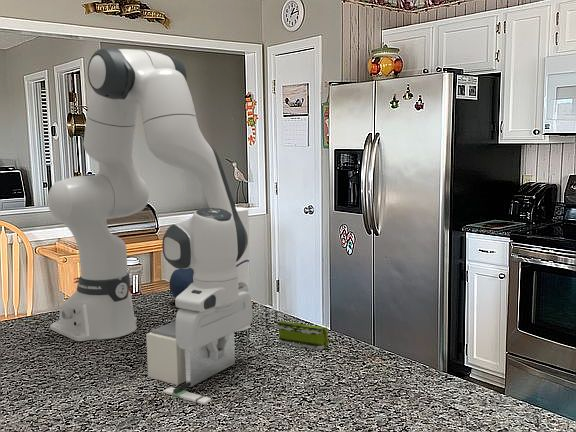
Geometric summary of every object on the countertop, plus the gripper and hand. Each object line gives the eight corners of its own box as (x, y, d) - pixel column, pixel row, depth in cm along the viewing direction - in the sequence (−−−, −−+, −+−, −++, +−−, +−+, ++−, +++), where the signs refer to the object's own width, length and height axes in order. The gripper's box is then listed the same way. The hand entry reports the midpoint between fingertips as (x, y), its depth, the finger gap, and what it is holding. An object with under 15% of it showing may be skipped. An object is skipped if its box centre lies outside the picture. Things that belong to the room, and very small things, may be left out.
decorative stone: (163, 309, 172) (162, 274, 171) (178, 297, 184) (177, 265, 182) (204, 310, 170) (203, 275, 169) (216, 299, 182) (215, 266, 181)
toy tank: (318, 332, 135) (336, 311, 143) (245, 321, 144) (267, 302, 152) (321, 360, 137) (339, 338, 145) (250, 347, 146) (270, 327, 154)
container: (257, 324, 158) (255, 208, 154) (236, 333, 151) (234, 212, 146) (230, 319, 162) (227, 206, 158) (209, 328, 155) (206, 210, 151)
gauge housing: (133, 383, 121) (131, 336, 120) (193, 355, 136) (192, 313, 135) (204, 404, 112) (202, 353, 110) (260, 371, 127) (259, 326, 125)
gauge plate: (133, 382, 121) (131, 343, 120) (194, 353, 136) (193, 318, 135) (175, 394, 115) (174, 353, 114) (234, 363, 130) (234, 327, 129)
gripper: (235, 278, 132) (236, 340, 134) (168, 300, 115) (171, 371, 116) (259, 281, 128) (260, 345, 130) (194, 305, 111) (196, 378, 113)
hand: (217, 358), depth 123 cm, fingers closed
